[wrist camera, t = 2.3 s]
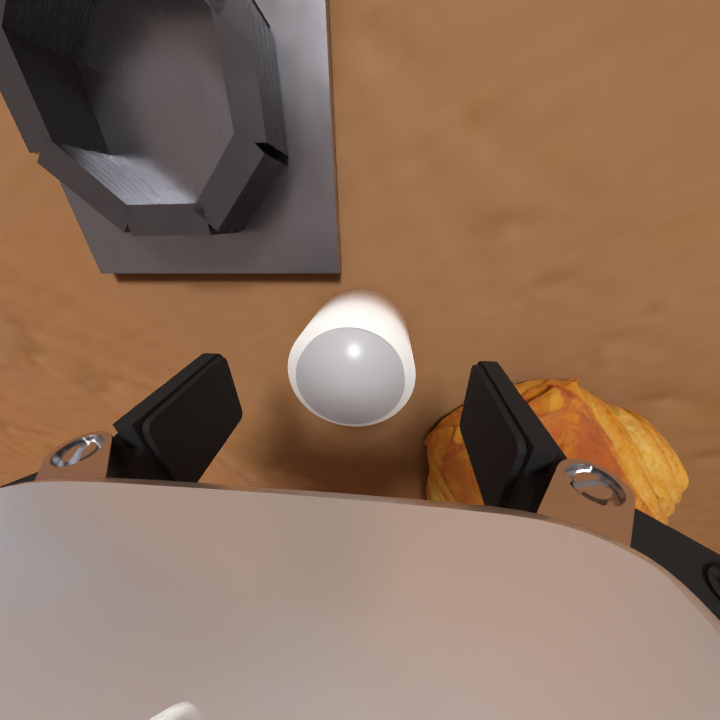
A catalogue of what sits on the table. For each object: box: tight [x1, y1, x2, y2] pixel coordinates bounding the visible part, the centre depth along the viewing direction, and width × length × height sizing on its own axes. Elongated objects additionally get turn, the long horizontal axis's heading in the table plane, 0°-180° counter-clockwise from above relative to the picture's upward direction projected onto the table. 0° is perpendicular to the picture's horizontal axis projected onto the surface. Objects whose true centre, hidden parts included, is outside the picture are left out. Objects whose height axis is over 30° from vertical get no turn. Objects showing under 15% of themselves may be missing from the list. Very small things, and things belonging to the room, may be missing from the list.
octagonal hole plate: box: [0, 0, 341, 273], centre depth 11 cm, size 14×14×3 cm
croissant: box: [424, 379, 689, 525], centre depth 18 cm, size 14×16×8 cm
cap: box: [288, 289, 416, 426], centre depth 15 cm, size 6×6×5 cm
